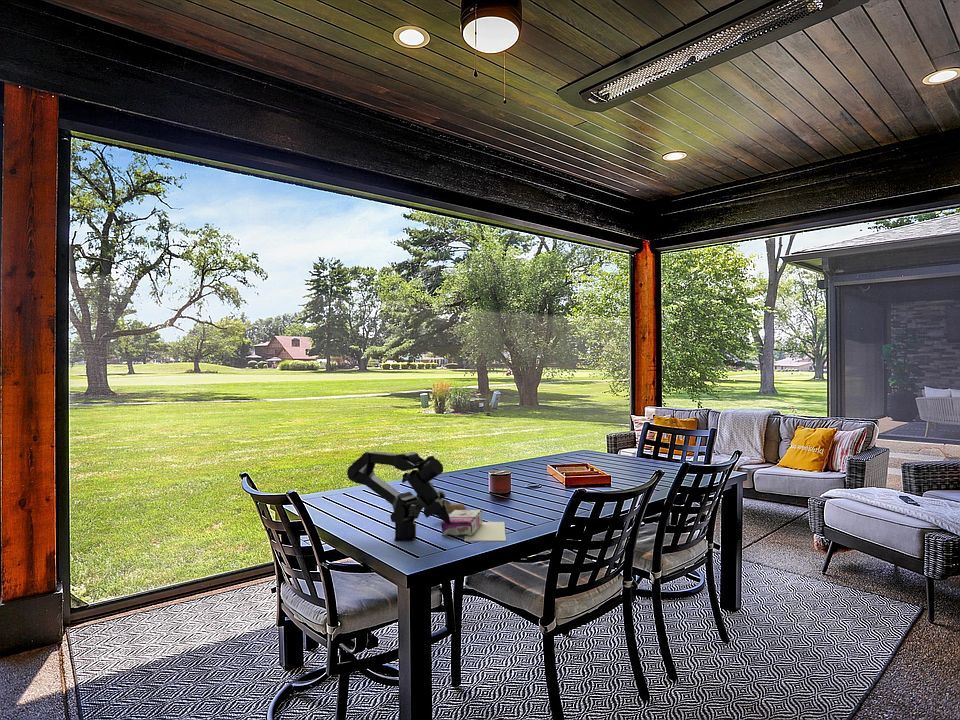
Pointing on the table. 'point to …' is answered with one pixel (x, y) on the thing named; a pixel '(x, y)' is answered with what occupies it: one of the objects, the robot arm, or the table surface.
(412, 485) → the robot arm
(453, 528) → the candy bar box
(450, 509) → the lion figurine
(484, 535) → the placemat
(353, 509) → the table surface
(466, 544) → the table surface
